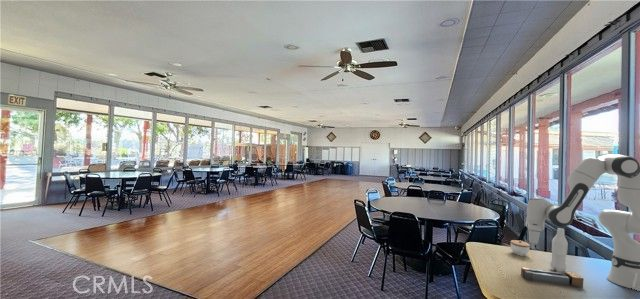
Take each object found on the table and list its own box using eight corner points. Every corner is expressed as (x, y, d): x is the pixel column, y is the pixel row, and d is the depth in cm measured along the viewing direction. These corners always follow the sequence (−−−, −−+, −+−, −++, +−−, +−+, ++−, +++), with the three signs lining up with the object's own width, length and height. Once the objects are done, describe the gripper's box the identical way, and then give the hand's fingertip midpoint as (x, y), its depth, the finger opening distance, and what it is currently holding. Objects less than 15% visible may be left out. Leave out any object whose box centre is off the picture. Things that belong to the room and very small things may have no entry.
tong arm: (564, 280, 156) (565, 272, 155) (567, 282, 153) (568, 274, 153) (520, 274, 160) (521, 267, 160) (522, 276, 158) (523, 269, 158)
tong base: (574, 281, 155) (574, 272, 155) (582, 287, 148) (583, 278, 148) (520, 274, 161) (520, 265, 161) (526, 280, 154) (527, 271, 154)
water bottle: (568, 274, 164) (572, 231, 163) (554, 272, 165) (557, 230, 164) (560, 268, 171) (564, 227, 170) (547, 267, 172) (550, 226, 171)
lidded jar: (506, 250, 197) (507, 237, 197) (520, 251, 198) (521, 237, 197) (517, 257, 186) (518, 243, 186) (533, 257, 187) (534, 243, 187)
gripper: (528, 220, 178) (526, 242, 178) (527, 226, 161) (525, 250, 162) (541, 222, 174) (539, 245, 174) (541, 229, 158) (539, 254, 158)
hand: (532, 247), depth 168 cm, fingers closed
